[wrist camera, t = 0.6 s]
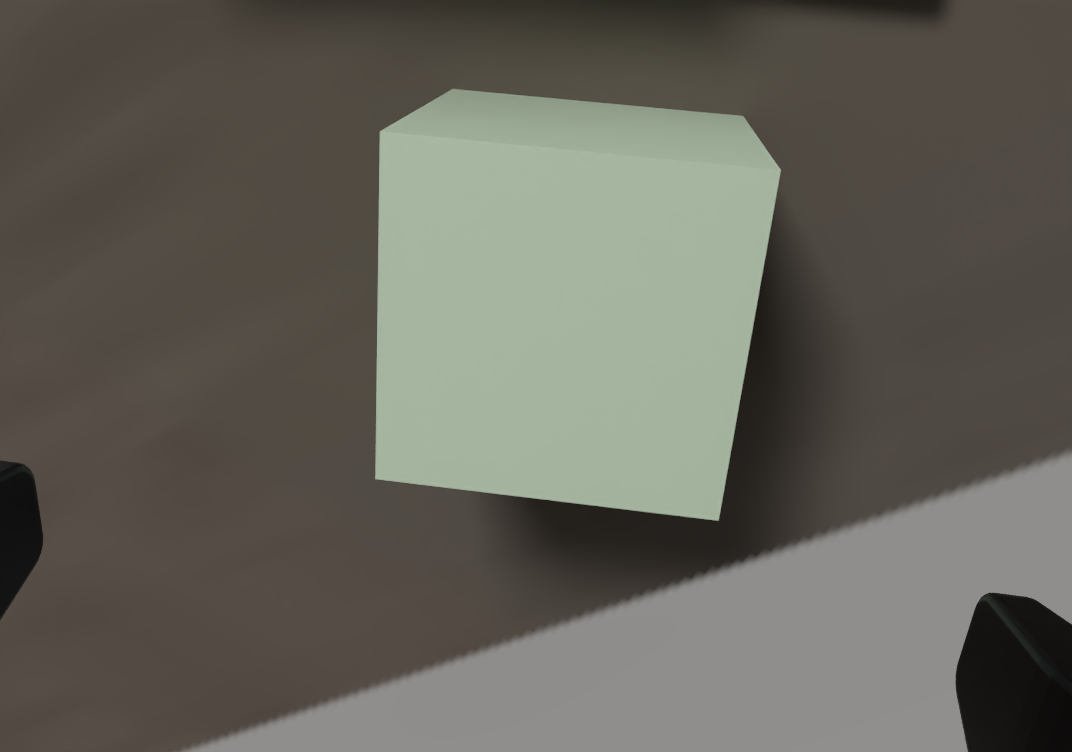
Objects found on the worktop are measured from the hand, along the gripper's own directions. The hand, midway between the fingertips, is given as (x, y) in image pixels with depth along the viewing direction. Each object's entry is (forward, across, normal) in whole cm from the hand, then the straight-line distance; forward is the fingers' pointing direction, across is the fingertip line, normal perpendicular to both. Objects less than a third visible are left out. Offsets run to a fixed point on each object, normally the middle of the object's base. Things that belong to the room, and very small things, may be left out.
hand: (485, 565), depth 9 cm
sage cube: (+13, 0, 0) cm, 13 cm away
